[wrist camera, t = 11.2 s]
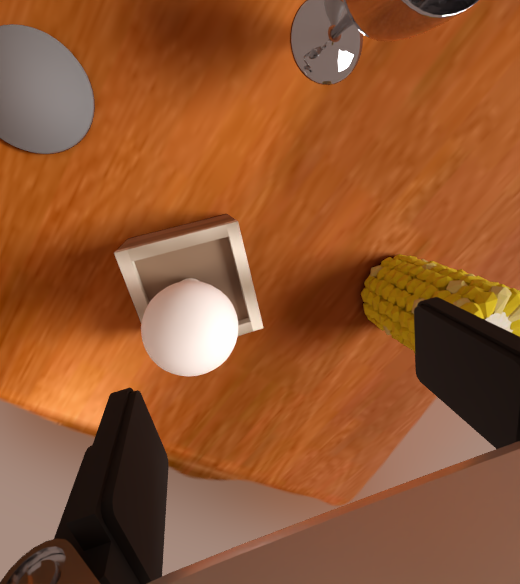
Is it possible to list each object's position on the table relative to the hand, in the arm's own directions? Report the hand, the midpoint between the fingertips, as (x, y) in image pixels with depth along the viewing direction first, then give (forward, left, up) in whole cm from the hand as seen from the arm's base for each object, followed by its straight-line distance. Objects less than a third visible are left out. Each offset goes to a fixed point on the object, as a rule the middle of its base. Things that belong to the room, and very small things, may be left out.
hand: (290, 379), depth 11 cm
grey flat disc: (-16, -11, -25) cm, 32 cm away
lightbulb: (+2, -3, -19) cm, 20 cm away
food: (+11, +20, -25) cm, 34 cm away
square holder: (+2, -3, -25) cm, 25 cm away
